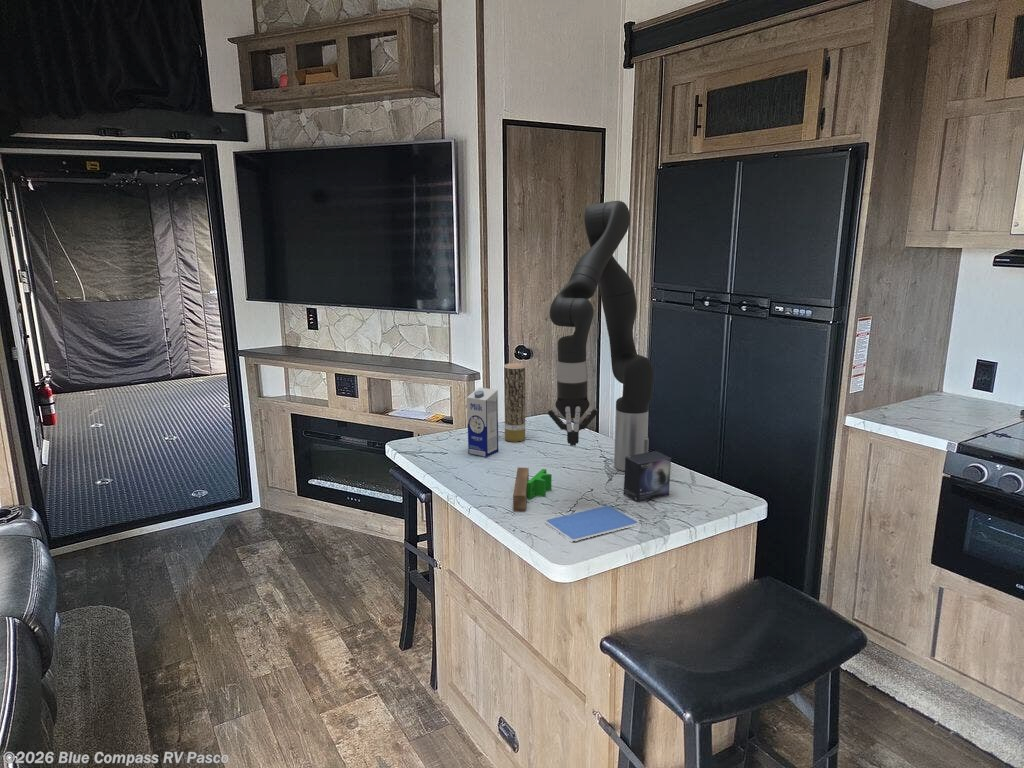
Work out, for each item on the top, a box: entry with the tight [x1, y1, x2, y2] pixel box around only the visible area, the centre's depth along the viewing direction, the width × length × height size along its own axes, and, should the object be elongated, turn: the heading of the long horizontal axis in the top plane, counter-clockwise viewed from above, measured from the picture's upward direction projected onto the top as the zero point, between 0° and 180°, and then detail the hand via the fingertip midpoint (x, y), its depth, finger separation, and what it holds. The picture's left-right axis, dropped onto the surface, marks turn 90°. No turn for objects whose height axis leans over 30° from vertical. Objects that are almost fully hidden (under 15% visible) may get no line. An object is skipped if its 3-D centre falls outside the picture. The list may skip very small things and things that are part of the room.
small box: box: [623, 450, 672, 503], centre depth 175 cm, size 11×6×10 cm, turn 117°
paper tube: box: [503, 362, 526, 443], centre depth 220 cm, size 7×7×25 cm
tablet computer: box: [544, 505, 640, 541], centre depth 159 cm, size 19×13×1 cm, turn 119°
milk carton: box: [466, 386, 499, 458], centre depth 208 cm, size 7×7×20 cm
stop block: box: [512, 467, 530, 512], centre depth 176 cm, size 3×20×4 cm, turn 176°
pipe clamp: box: [527, 468, 552, 500], centre depth 178 cm, size 11×4×5 cm, turn 156°
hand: (572, 444), depth 172 cm, fingers closed
